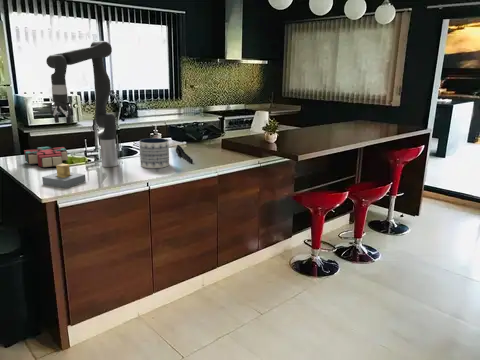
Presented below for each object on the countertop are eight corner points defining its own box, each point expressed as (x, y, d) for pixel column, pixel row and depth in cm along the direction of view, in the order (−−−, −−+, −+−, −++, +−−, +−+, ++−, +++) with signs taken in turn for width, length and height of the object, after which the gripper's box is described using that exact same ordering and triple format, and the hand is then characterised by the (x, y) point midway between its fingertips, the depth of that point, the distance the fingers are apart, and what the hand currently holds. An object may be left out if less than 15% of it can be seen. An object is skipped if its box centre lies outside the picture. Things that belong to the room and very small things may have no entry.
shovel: (194, 164, 260) (194, 153, 258) (189, 164, 258) (189, 153, 256) (179, 153, 291) (179, 143, 289) (174, 154, 289) (174, 144, 287)
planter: (137, 168, 245) (135, 142, 240) (145, 161, 262) (143, 137, 258) (165, 169, 244) (164, 143, 240) (171, 162, 262) (171, 138, 257)
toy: (74, 167, 249) (63, 157, 272) (72, 153, 246) (61, 143, 269) (31, 172, 235) (23, 160, 258) (29, 157, 232) (22, 147, 255)
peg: (64, 181, 213) (63, 163, 211) (71, 182, 212) (69, 164, 209) (58, 183, 209) (56, 165, 207) (64, 184, 208) (62, 166, 205)
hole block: (63, 178, 220) (63, 171, 219) (85, 181, 214) (85, 174, 213) (42, 184, 207) (42, 177, 206) (65, 188, 201) (64, 180, 200)
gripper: (75, 93, 213) (77, 123, 217) (55, 92, 218) (58, 121, 223) (64, 94, 206) (67, 124, 211) (44, 93, 212) (47, 123, 216)
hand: (62, 123), depth 217 cm, fingers open, 8 cm apart
